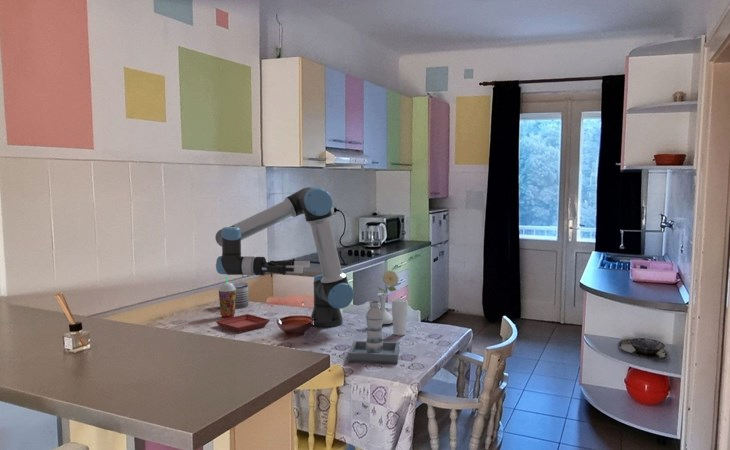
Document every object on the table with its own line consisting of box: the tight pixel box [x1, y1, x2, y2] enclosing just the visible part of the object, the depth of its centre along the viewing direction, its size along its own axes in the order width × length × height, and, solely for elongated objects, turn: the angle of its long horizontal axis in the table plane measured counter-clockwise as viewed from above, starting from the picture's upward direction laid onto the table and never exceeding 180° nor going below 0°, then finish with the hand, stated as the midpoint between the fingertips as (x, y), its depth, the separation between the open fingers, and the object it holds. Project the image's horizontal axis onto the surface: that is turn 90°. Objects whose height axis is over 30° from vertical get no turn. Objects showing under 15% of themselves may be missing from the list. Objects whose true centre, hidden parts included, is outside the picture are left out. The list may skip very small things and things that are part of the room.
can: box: [232, 282, 249, 310], centre depth 296 cm, size 11×11×12 cm
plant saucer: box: [215, 313, 271, 333], centre depth 256 cm, size 18×18×3 cm
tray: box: [347, 340, 400, 365], centre depth 212 cm, size 16×18×4 cm
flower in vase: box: [377, 269, 400, 325], centre depth 261 cm, size 13×11×25 cm
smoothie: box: [218, 275, 236, 319], centre depth 272 cm, size 8×8×20 cm
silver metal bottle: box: [365, 300, 384, 353], centre depth 211 cm, size 6×7×20 cm
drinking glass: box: [391, 298, 408, 337], centre depth 242 cm, size 7×7×15 cm
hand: (306, 266), depth 224 cm, fingers open, 13 cm apart
